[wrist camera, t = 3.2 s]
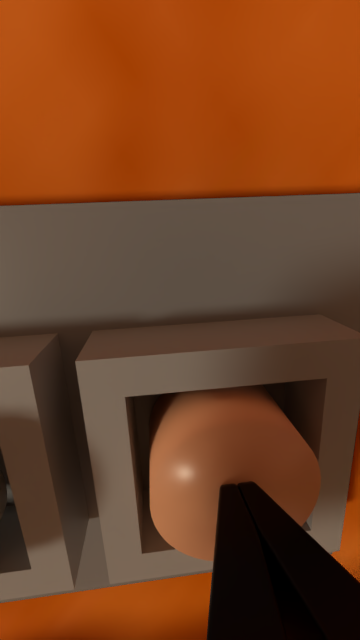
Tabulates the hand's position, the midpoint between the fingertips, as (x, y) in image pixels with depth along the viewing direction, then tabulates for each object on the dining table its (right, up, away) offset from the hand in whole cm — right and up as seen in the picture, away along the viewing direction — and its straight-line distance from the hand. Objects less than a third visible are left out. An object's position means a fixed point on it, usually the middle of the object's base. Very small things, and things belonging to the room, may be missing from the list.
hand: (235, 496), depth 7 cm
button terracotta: (0, +1, +3) cm, 3 cm away
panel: (-8, +1, +4) cm, 9 cm away
